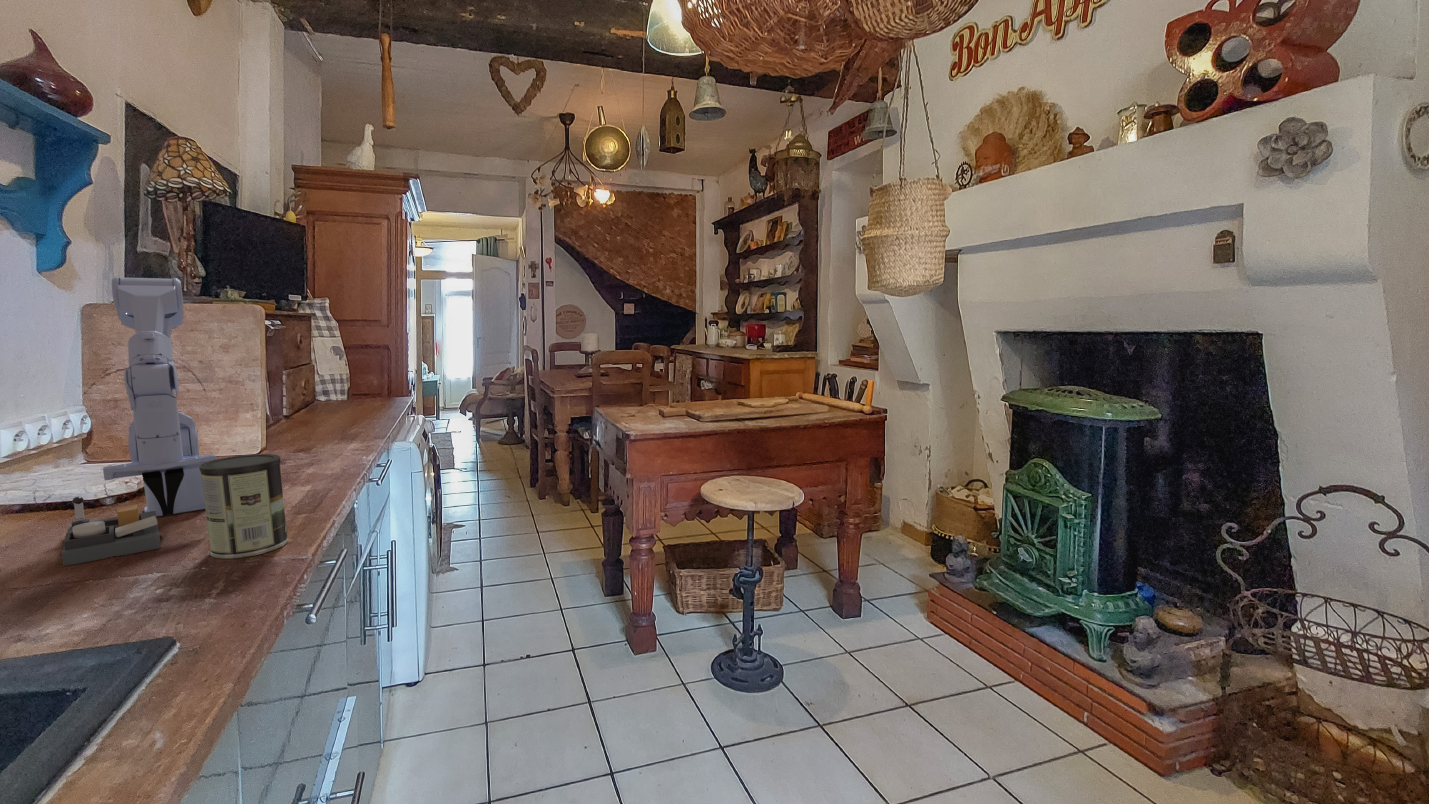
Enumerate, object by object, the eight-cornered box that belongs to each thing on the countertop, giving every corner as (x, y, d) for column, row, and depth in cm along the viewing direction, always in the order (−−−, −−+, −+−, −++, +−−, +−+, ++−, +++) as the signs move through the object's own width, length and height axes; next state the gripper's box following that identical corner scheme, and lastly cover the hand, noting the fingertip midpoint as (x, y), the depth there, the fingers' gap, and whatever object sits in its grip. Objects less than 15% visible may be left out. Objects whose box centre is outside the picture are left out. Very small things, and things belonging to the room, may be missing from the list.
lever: (86, 518, 109) (83, 496, 109) (85, 517, 108) (83, 495, 108) (74, 520, 108) (72, 498, 108) (73, 519, 107) (71, 497, 107)
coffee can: (258, 533, 110) (250, 451, 108) (303, 540, 107) (295, 456, 105) (192, 554, 100) (182, 465, 98) (239, 562, 97) (230, 470, 95)
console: (156, 521, 116) (154, 503, 116) (161, 548, 103) (158, 527, 103) (70, 535, 109) (68, 516, 109) (63, 566, 96) (60, 544, 95)
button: (106, 529, 103) (104, 519, 103) (105, 534, 100) (104, 525, 100) (74, 534, 101) (73, 524, 100) (72, 540, 98) (71, 530, 98)
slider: (139, 521, 110) (137, 503, 110) (139, 526, 107) (137, 509, 107) (119, 524, 109) (117, 506, 108) (119, 530, 106) (116, 512, 105)
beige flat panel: (156, 519, 107) (154, 515, 107) (157, 524, 105) (155, 519, 104) (117, 532, 104) (115, 528, 103) (117, 537, 101) (115, 532, 101)
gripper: (98, 444, 102) (109, 528, 103) (215, 433, 111) (223, 510, 113) (100, 438, 107) (110, 518, 109) (211, 428, 116) (219, 501, 118)
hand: (168, 513), depth 111 cm, fingers closed
